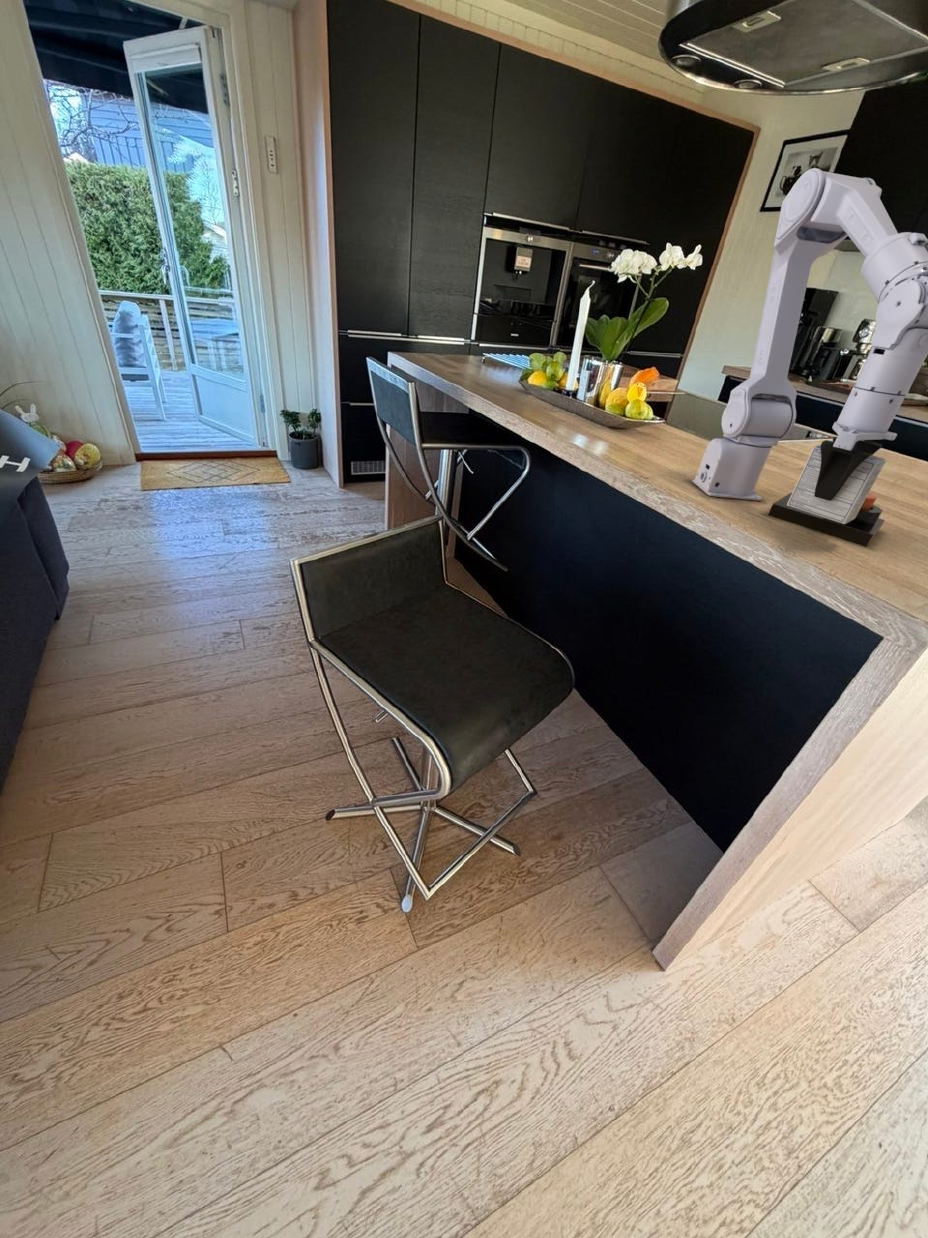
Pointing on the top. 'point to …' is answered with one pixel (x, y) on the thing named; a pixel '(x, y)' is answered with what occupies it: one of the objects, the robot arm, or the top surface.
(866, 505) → the button
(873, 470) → the medicine box
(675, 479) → the top surface
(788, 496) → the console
